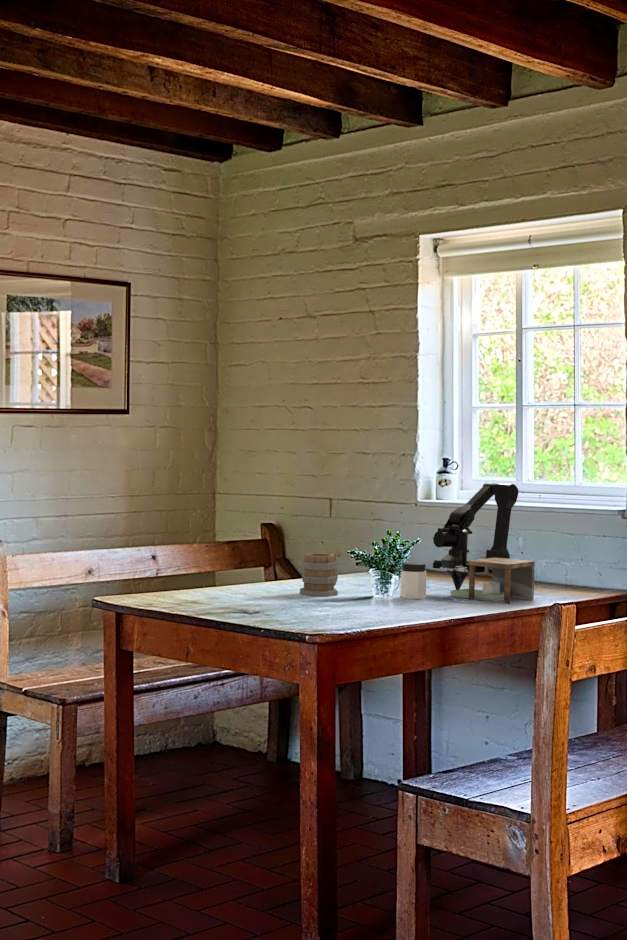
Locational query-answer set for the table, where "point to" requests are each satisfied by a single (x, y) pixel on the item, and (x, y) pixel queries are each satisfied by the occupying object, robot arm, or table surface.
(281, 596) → the table surface
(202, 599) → the table surface
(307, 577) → the tankard
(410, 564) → the jar
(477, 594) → the tray
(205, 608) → the table surface
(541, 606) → the table surface
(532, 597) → the stand
